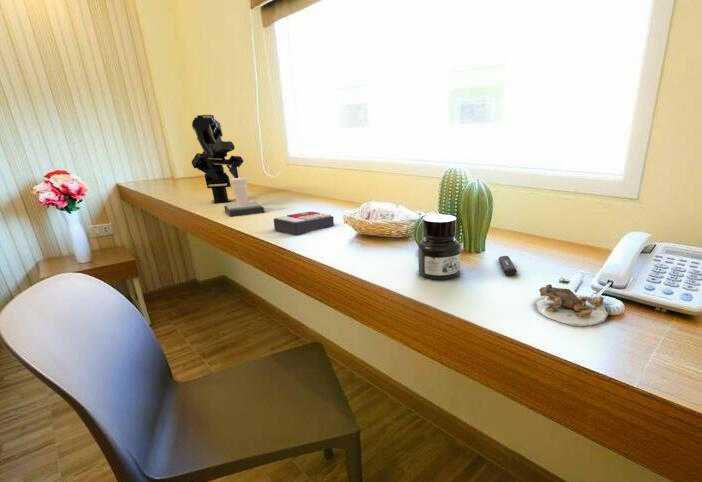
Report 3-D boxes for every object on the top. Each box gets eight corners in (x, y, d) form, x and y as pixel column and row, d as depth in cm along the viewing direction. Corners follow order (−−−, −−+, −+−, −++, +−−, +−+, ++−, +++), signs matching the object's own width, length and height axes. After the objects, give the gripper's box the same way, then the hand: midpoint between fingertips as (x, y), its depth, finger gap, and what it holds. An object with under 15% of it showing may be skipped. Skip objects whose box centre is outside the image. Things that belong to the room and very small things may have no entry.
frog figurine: (532, 320, 63) (534, 298, 62) (537, 292, 74) (540, 273, 72) (610, 331, 60) (615, 308, 58) (604, 300, 70) (608, 280, 69)
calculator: (333, 214, 125) (294, 220, 114) (334, 227, 126) (296, 235, 115) (311, 210, 131) (272, 216, 120) (312, 223, 133) (273, 230, 121)
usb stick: (497, 261, 91) (498, 255, 90) (509, 261, 91) (509, 255, 90) (504, 276, 82) (504, 269, 81) (517, 276, 82) (517, 269, 81)
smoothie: (241, 207, 145) (234, 167, 139) (230, 205, 148) (223, 167, 143) (255, 204, 150) (249, 166, 144) (245, 202, 153) (238, 165, 148)
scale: (225, 211, 151) (223, 204, 150) (257, 207, 157) (256, 201, 156) (230, 216, 142) (228, 209, 141) (264, 212, 148) (263, 205, 147)
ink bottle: (427, 284, 79) (427, 225, 74) (410, 270, 86) (409, 216, 82) (469, 276, 82) (471, 220, 78) (449, 263, 90) (450, 211, 85)
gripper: (195, 129, 140) (215, 166, 138) (240, 135, 155) (259, 168, 154) (183, 149, 146) (201, 184, 144) (227, 153, 161) (245, 185, 160)
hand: (228, 180), depth 150 cm, fingers open, 9 cm apart
